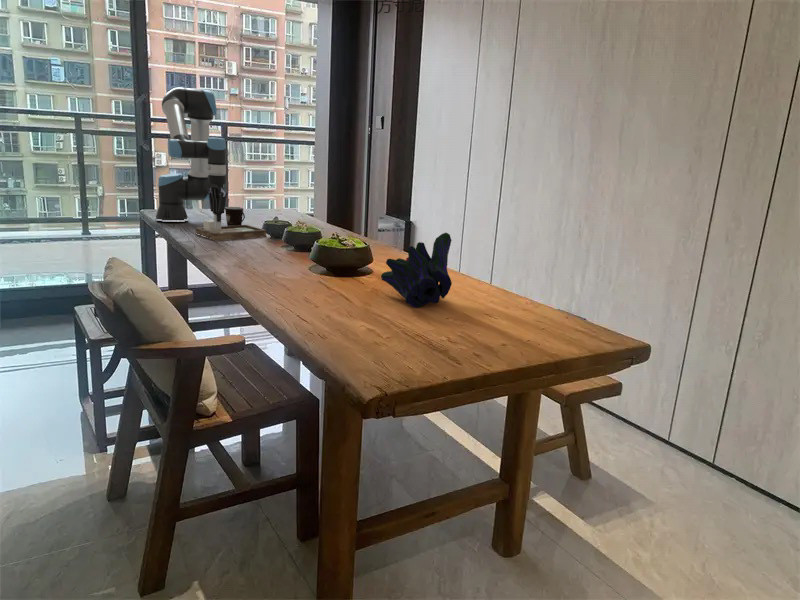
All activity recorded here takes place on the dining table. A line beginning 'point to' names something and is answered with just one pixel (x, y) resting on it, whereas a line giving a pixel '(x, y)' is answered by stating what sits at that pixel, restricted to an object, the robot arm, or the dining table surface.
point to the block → (210, 226)
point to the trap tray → (233, 232)
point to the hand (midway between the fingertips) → (217, 228)
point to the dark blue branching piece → (421, 273)
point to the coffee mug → (234, 215)
